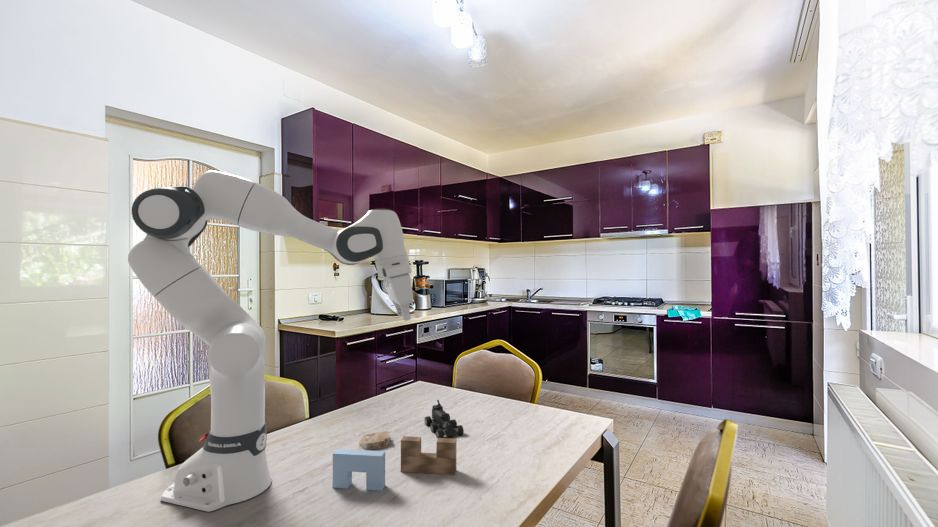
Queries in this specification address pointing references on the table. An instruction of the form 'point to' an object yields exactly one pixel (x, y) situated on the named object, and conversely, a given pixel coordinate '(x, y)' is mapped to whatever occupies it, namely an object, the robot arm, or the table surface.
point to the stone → (375, 440)
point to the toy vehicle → (442, 423)
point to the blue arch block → (359, 468)
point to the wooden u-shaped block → (428, 456)
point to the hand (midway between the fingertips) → (404, 317)
